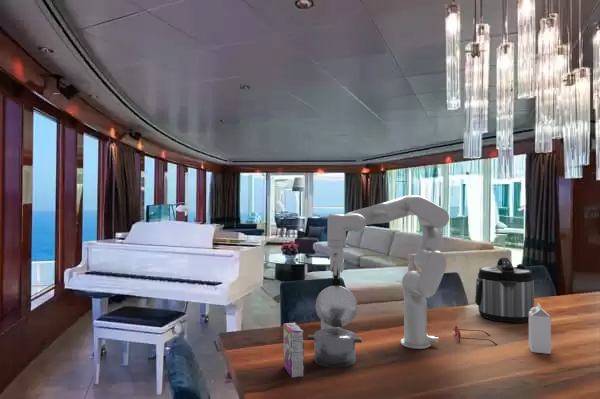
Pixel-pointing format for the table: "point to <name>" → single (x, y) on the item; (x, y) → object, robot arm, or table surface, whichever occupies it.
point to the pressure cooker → (505, 292)
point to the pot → (334, 347)
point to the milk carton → (539, 330)
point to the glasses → (469, 338)
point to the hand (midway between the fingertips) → (336, 288)
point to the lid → (336, 306)
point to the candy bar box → (293, 349)
